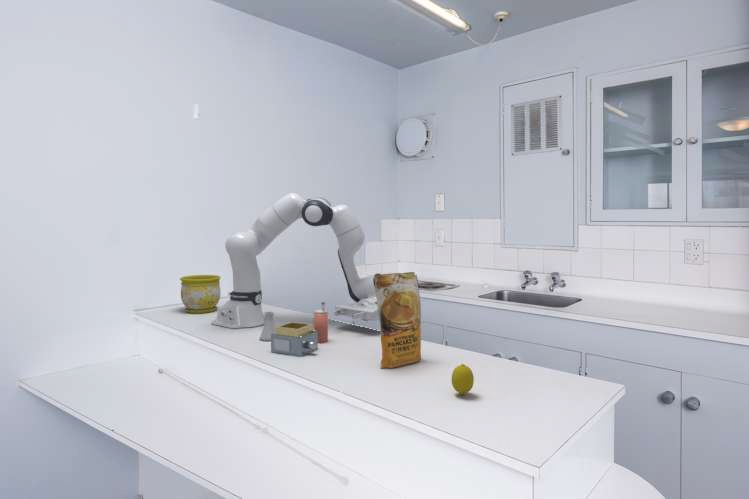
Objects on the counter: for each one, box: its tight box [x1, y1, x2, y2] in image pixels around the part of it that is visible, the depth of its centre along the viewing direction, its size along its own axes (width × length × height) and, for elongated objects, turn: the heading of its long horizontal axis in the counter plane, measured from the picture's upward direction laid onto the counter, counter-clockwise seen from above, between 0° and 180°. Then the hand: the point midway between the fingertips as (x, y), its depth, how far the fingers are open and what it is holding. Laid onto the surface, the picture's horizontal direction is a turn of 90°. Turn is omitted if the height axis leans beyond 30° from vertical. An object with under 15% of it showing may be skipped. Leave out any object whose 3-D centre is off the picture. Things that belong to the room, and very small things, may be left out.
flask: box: [258, 311, 276, 342], centre depth 173 cm, size 7×7×10 cm
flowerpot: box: [179, 274, 221, 315], centre depth 224 cm, size 18×18×16 cm
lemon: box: [451, 363, 475, 396], centre depth 119 cm, size 6×6×8 cm
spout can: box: [313, 301, 329, 344], centre depth 170 cm, size 5×5×14 cm
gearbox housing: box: [270, 321, 319, 357], centre depth 158 cm, size 15×10×8 cm
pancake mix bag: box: [375, 271, 422, 369], centre depth 145 cm, size 7×19×28 cm, turn 127°
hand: (344, 314), depth 179 cm, fingers open, 8 cm apart
